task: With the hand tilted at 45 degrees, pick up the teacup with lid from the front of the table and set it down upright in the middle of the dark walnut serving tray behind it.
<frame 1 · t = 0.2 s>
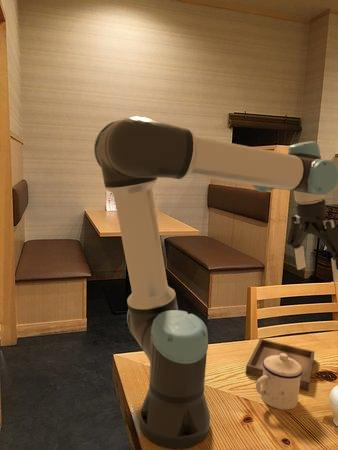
hand: (319, 273, 106), 27 cm above the table, tool pointing down, fingers open, 13 cm apart
teacup with lid: (274, 401, 91), on the table
walnut tray: (281, 366, 107), on the table
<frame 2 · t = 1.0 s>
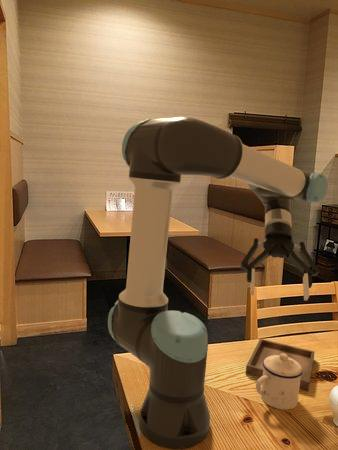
hand: (279, 295, 98), 23 cm above the table, tool tilted 45°, fingers open, 13 cm apart
nothing on the table moved.
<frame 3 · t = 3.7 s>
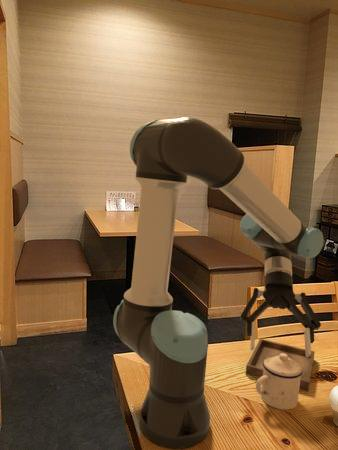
hand: (280, 352, 94), 10 cm above the table, tool tilted 45°, fingers open, 13 cm apart
nothing on the table moved.
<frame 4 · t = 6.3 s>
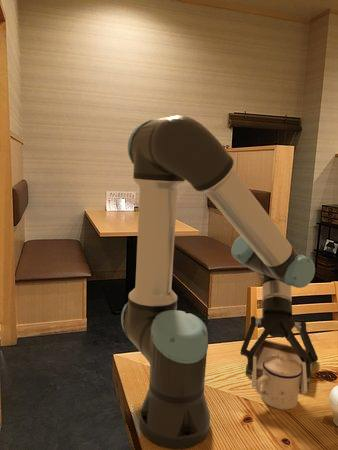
hand: (279, 389, 88), 5 cm above the table, tool tilted 45°, fingers closed on teacup with lid, 11 cm apart
teacup with lid: (274, 401, 91), on the table, touching gripper
everything else where it was.
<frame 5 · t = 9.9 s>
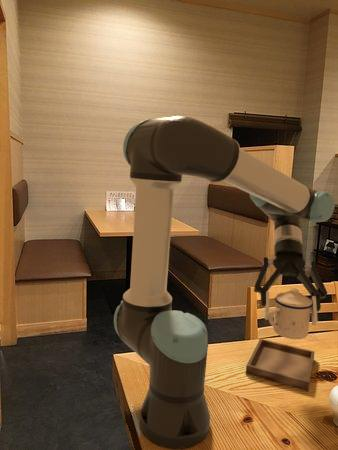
hand: (290, 320, 94), 18 cm above the table, tool tilted 45°, fingers closed on teacup with lid, 11 cm apart
teacup with lid: (285, 333, 97), point 13 cm above the table, touching gripper
everything else where it was.
when the fingers open (7 cm above the table, at t = 13.5 s): teacup with lid drops 1 cm, resting on walnut tray.
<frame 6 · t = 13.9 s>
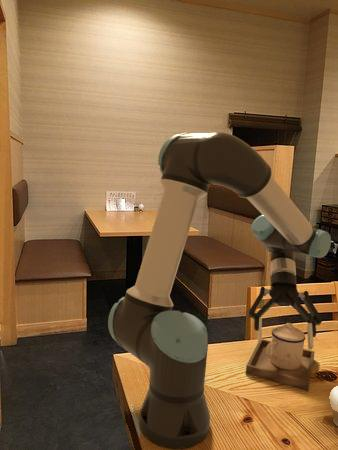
hand: (285, 345, 103), 8 cm above the table, tool tilted 45°, fingers open, 13 cm apart
teacup with lid: (281, 364, 107), point 1 cm above the table, touching walnut tray
everything else where it was.
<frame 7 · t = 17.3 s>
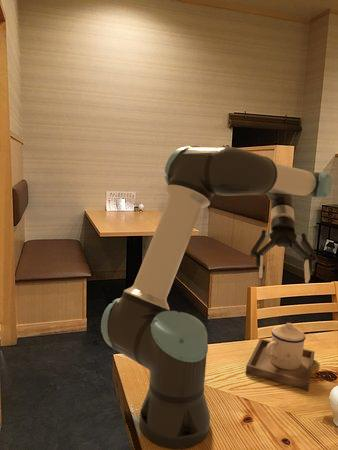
hand: (284, 278, 114), 23 cm above the table, tool tilted 45°, fingers open, 13 cm apart
nothing on the table moved.
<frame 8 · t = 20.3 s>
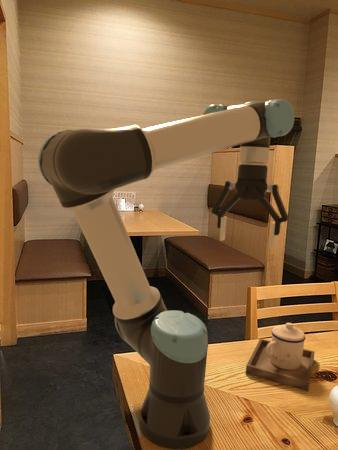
hand: (246, 243, 102), 35 cm above the table, tool pointing down, fingers open, 13 cm apart
nothing on the table moved.
at the end: teacup with lid inside the target area on the walnut tray (0.2 cm from its centre), point 0.8 cm above the walnut tray's base; teacup with lid tilted 0°; the gripper is holding nothing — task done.
